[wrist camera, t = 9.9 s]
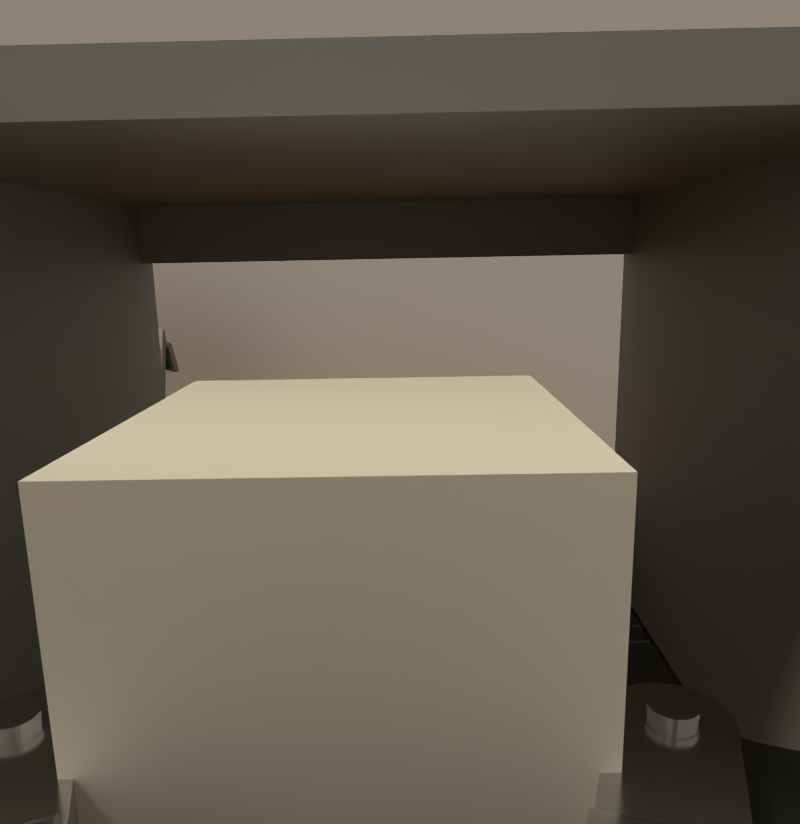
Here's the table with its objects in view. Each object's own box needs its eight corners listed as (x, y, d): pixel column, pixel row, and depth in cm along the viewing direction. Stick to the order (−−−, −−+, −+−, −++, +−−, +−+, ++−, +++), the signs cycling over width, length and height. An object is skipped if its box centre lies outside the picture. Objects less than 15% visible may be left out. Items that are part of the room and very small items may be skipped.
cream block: (133, 1355, 8) (17, 481, 6) (238, 933, 13) (195, 381, 11) (591, 1353, 8) (636, 473, 6) (519, 930, 13) (530, 375, 11)
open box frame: (-154, 978, 13) (-364, 54, 10) (157, 578, 30) (118, 181, 27) (921, 970, 13) (1082, 19, 10) (633, 572, 30) (655, 170, 26)
